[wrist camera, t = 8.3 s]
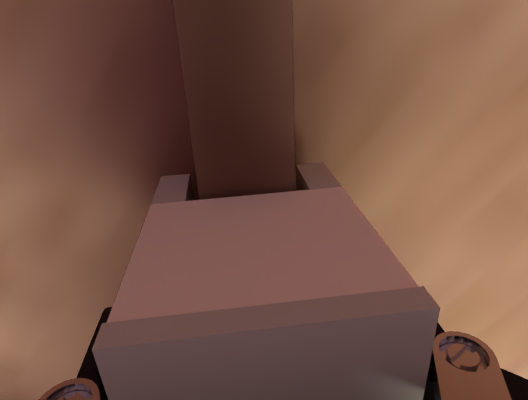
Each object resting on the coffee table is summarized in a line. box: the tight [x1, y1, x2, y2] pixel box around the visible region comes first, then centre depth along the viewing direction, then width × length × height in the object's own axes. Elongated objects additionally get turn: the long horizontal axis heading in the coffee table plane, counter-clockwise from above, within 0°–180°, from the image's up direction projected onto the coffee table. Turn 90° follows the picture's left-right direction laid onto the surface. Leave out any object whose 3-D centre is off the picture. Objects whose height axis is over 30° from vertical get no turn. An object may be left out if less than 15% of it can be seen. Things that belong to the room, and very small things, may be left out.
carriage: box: [92, 162, 440, 400], centre depth 11 cm, size 6×6×8 cm
